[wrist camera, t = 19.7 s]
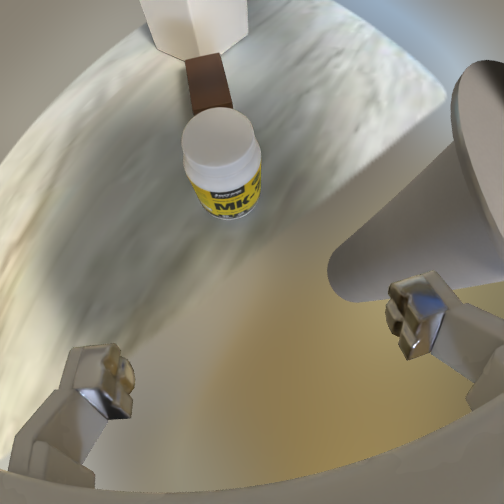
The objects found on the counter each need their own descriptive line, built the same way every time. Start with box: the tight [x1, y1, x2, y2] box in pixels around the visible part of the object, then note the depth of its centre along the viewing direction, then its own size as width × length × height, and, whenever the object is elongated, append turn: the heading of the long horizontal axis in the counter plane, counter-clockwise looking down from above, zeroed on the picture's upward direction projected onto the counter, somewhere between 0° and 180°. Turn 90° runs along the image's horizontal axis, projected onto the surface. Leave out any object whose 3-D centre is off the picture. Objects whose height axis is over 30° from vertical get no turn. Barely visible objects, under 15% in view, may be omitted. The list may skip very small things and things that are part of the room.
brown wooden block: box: [185, 52, 233, 116], centre depth 24 cm, size 6×3×4 cm, turn 12°
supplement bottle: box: [181, 107, 261, 220], centre depth 20 cm, size 5×5×8 cm
